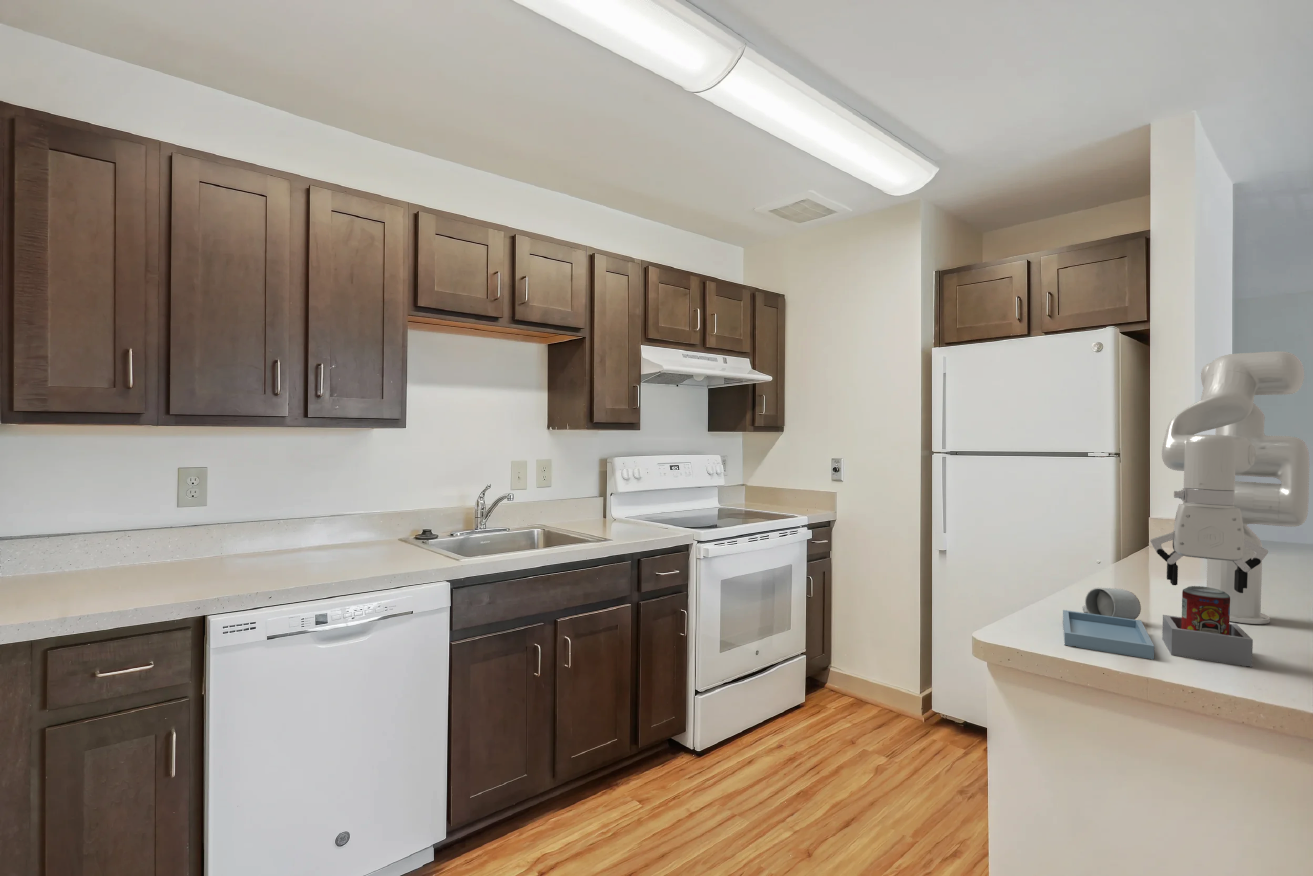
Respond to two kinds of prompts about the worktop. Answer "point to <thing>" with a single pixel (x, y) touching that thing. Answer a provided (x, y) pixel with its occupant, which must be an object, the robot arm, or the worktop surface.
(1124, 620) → the tray
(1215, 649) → the can holder
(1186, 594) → the soda can
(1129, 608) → the ceramic mug
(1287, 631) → the worktop surface
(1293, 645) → the worktop surface
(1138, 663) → the worktop surface
